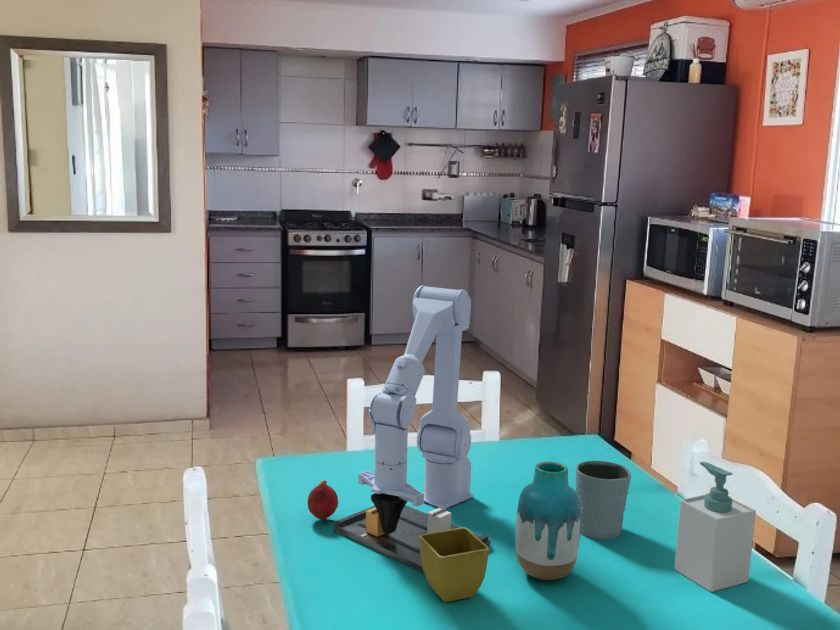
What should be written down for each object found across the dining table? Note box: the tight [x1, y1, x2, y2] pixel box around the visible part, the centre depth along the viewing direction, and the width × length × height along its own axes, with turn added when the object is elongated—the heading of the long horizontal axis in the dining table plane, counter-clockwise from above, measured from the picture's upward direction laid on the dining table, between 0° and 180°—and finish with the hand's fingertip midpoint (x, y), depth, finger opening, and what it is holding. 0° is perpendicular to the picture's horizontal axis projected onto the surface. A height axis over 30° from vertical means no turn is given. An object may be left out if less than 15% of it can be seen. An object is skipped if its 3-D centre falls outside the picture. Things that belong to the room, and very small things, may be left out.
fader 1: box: [366, 507, 385, 537], centre depth 157 cm, size 3×3×4 cm
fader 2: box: [427, 507, 452, 533], centre depth 157 cm, size 3×3×4 cm
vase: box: [515, 461, 581, 581], centre depth 145 cm, size 11×11×19 cm
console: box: [333, 504, 491, 575], centre depth 158 cm, size 16×24×2 cm, turn 47°
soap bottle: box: [673, 461, 757, 593], centre depth 146 cm, size 9×9×19 cm
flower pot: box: [419, 526, 490, 603], centre depth 139 cm, size 9×9×9 cm
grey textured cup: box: [575, 460, 632, 541], centre depth 163 cm, size 10×10×12 cm
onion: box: [307, 479, 339, 521], centre depth 164 cm, size 6×6×8 cm
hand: (389, 531), depth 156 cm, fingers closed
